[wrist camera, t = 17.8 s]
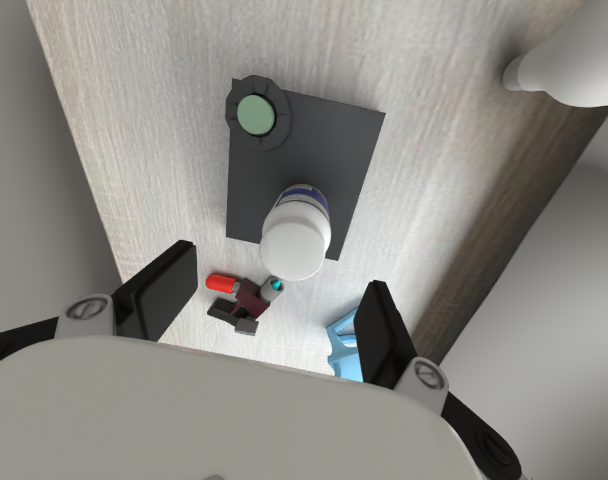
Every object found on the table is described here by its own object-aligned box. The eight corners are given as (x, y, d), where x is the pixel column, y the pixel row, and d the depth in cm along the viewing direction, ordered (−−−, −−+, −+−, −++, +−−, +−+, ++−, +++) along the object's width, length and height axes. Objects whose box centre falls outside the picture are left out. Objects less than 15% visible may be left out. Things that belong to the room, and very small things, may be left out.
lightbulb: (533, 114, 20) (734, 98, 10) (464, 116, 21) (593, 102, 11) (568, 26, 17) (885, -109, 8) (487, 31, 18) (687, -92, 8)
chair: (319, 317, 34) (317, 404, 23) (370, 300, 31) (395, 387, 21) (340, 348, 36) (347, 439, 26) (388, 334, 34) (419, 427, 23)
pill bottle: (305, 241, 26) (296, 299, 17) (266, 210, 24) (234, 255, 15) (339, 206, 24) (350, 252, 15) (299, 170, 22) (284, 196, 13)
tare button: (244, 94, 19) (238, 91, 17) (276, 101, 19) (272, 99, 17) (242, 130, 20) (236, 130, 18) (272, 137, 20) (268, 137, 18)
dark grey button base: (239, 77, 21) (224, 68, 17) (382, 110, 21) (392, 106, 18) (231, 230, 28) (220, 243, 25) (337, 253, 28) (338, 268, 25)
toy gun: (292, 281, 31) (287, 305, 26) (248, 325, 35) (237, 351, 31) (234, 240, 29) (218, 260, 24) (195, 293, 33) (176, 317, 29)
